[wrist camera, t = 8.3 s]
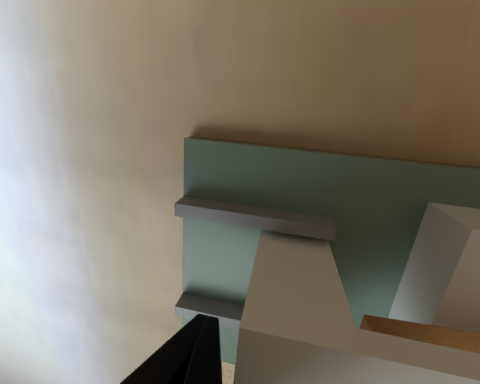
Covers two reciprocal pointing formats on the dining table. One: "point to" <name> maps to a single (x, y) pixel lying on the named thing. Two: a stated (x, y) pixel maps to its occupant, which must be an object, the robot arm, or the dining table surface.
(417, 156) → the dining table surface
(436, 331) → the strap
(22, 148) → the dining table surface
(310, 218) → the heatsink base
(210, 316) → the robot arm
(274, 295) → the block
